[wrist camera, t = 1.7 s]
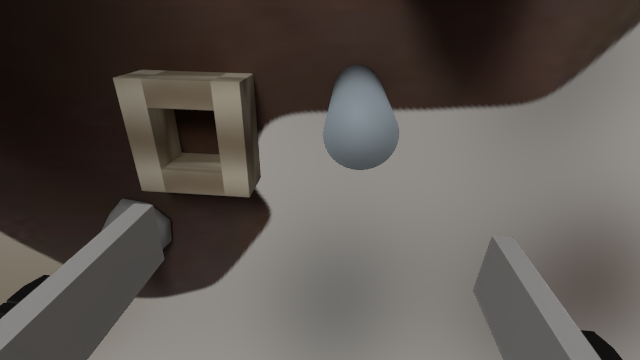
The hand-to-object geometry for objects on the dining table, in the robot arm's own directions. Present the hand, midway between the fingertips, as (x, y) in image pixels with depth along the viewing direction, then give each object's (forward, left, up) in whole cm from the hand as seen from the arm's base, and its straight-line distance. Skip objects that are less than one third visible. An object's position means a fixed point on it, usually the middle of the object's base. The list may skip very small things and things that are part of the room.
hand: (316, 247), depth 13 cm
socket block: (+1, -12, -18) cm, 22 cm away
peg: (-3, +2, -19) cm, 19 cm away
